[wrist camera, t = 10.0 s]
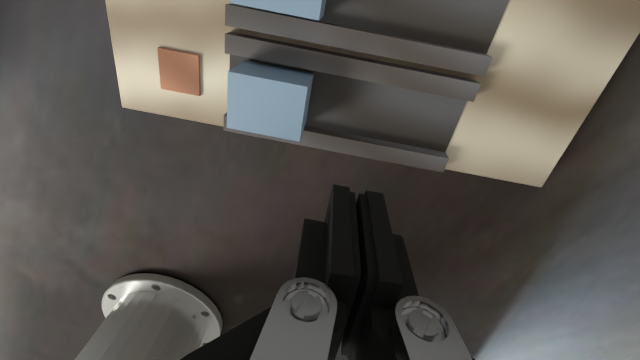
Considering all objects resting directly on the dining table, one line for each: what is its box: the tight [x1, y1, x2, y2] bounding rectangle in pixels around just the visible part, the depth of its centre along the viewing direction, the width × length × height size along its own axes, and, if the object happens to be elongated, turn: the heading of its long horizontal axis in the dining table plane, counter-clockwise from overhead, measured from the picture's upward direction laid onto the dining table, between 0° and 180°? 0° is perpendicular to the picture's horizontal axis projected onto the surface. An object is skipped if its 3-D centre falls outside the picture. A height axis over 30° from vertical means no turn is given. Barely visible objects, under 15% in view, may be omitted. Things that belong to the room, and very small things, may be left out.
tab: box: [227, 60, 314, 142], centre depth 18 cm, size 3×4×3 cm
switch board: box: [105, 0, 640, 187], centre depth 18 cm, size 12×28×3 cm, turn 80°
